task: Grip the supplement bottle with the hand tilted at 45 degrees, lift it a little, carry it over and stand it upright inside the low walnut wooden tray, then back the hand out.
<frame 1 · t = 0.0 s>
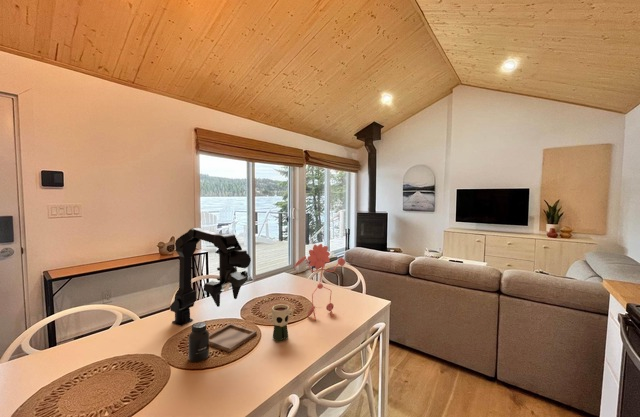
hand: (227, 302, 114), 15 cm above the table, tool pointing down, fingers open, 9 cm apart
supplement bottle: (199, 357, 101), on the table
tray: (230, 338, 114), on the table
character mug: (280, 338, 114), on the table
figurine: (318, 313, 139), on the table
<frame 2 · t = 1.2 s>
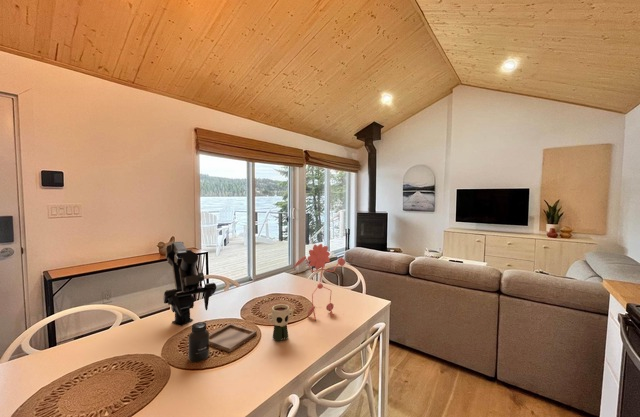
hand: (194, 312, 107), 14 cm above the table, tool tilted 45°, fingers open, 9 cm apart
nothing on the table moved.
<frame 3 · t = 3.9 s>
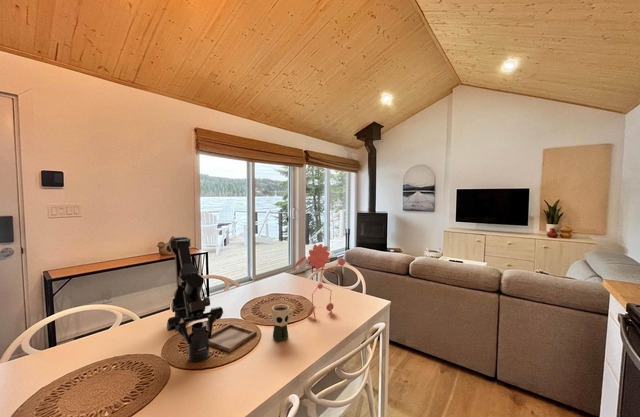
hand: (199, 341, 99), 7 cm above the table, tool tilted 45°, fingers closed on supplement bottle, 7 cm apart
supplement bottle: (199, 357, 101), on the table, touching gripper
everything else where it was.
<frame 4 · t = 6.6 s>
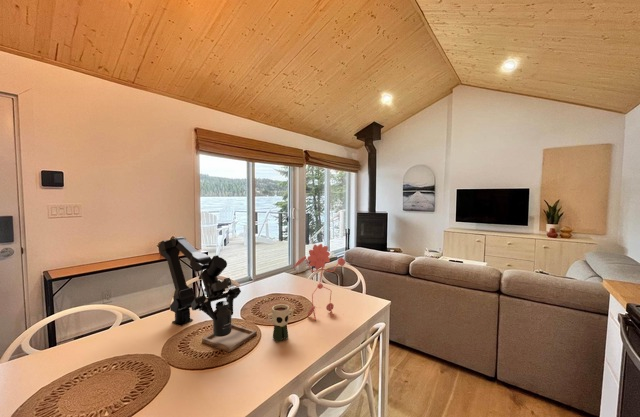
hand: (224, 317, 108), 11 cm above the table, tool tilted 45°, fingers closed on supplement bottle, 7 cm apart
supplement bottle: (222, 333, 110), point 4 cm above the table, touching gripper
everything else where it was.
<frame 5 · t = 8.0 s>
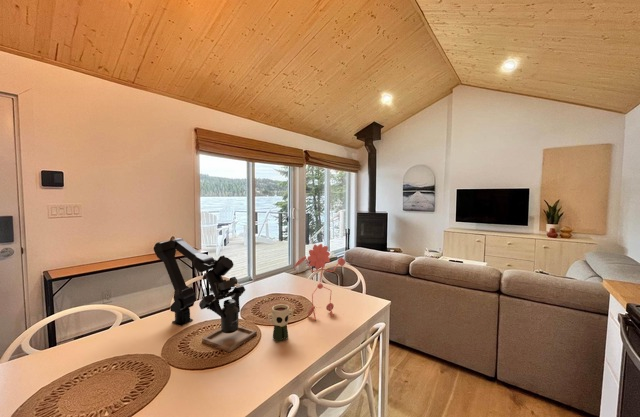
hand: (231, 314, 113), 10 cm above the table, tool tilted 45°, fingers closed on supplement bottle, 7 cm apart
supplement bottle: (230, 330, 114), point 3 cm above the table, touching gripper
everything else where it was.
when the fingers open (8 cm above the table, at t = 9.2 s): supplement bottle stays where it is, resting on tray.
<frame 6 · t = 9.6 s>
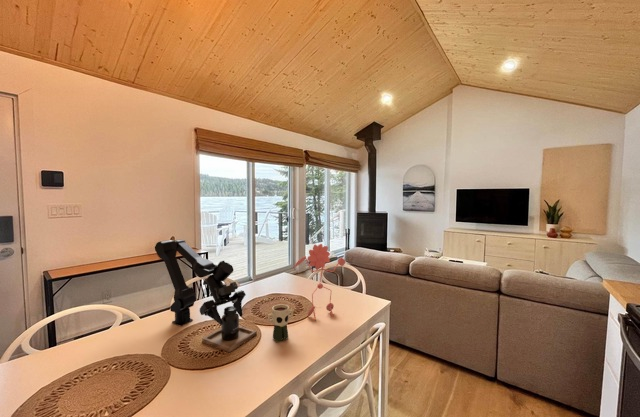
hand: (232, 320, 113), 8 cm above the table, tool tilted 45°, fingers open, 9 cm apart
supplement bottle: (230, 337, 114), resting on tray
everything else where it was.
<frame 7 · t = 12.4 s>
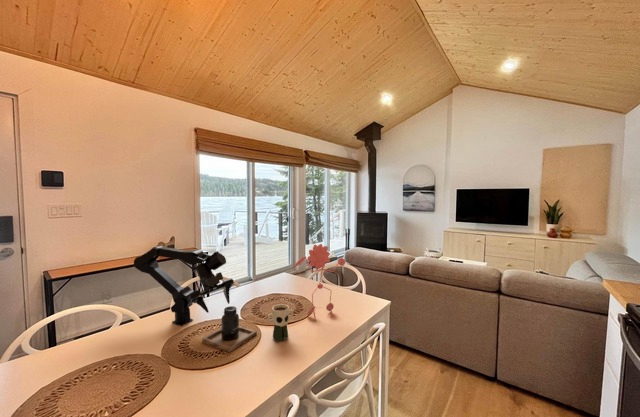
hand: (218, 307, 120), 10 cm above the table, tool tilted 35°, fingers open, 9 cm apart
nothing on the table moved.
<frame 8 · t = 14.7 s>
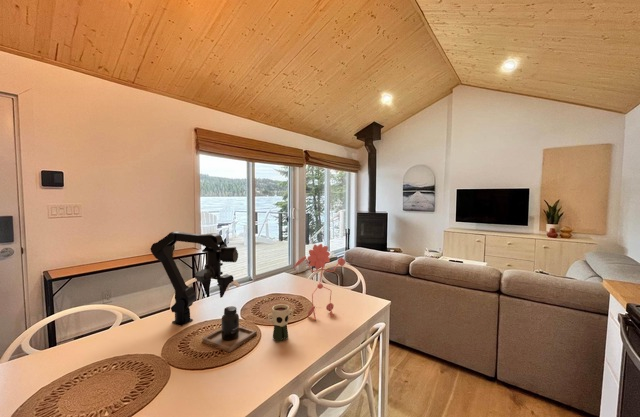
hand: (214, 295, 126), 13 cm above the table, tool pointing down, fingers open, 9 cm apart
nothing on the table moved.
at the end: supplement bottle inside the target area on the tray (0.2 cm from its centre), point 0.2 cm above the tray's base; supplement bottle tilted 0°; the gripper is holding nothing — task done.
